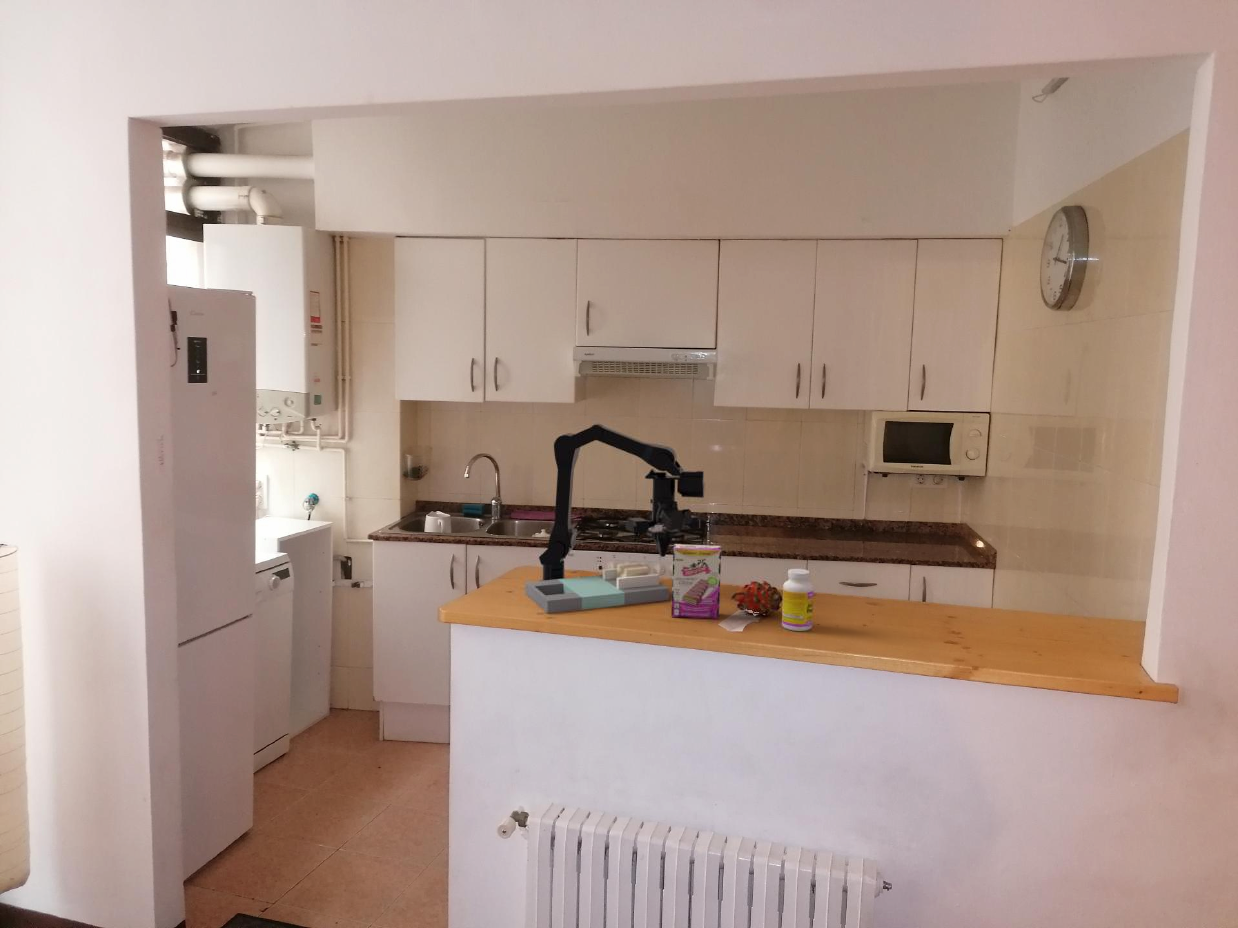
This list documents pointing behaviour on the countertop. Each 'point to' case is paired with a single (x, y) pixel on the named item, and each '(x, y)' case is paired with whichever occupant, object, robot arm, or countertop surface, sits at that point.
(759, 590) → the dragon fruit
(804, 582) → the supplement bottle
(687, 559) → the candy bar box
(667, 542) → the robot arm
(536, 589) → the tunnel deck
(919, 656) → the countertop surface
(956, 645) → the countertop surface
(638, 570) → the beech block
